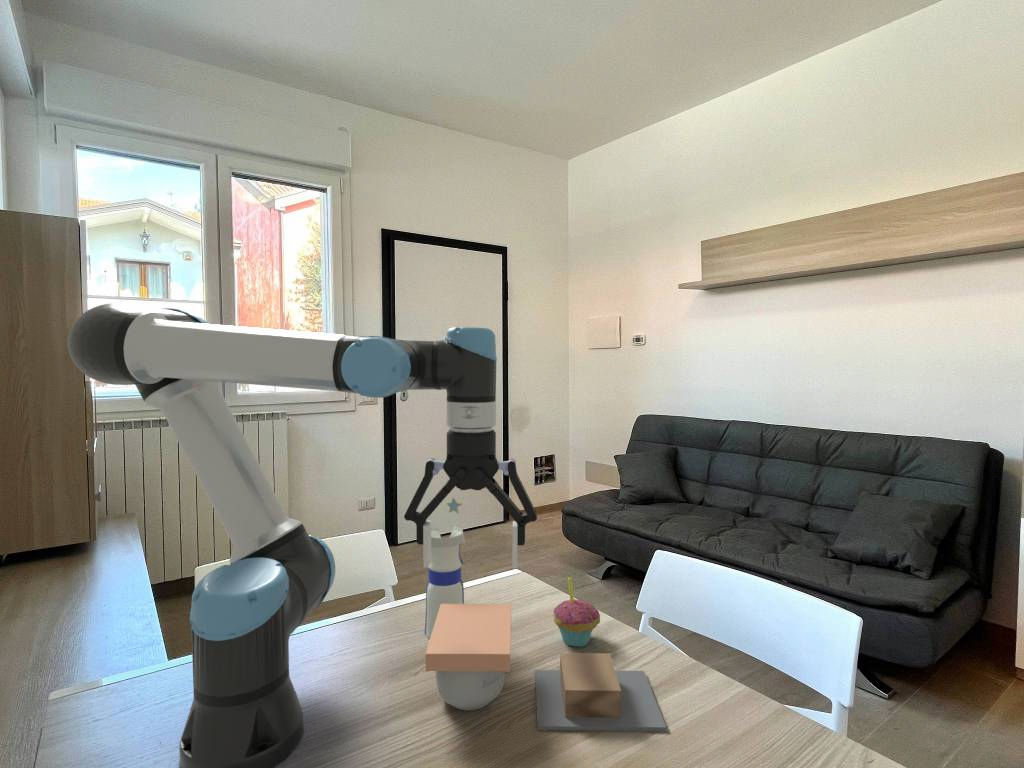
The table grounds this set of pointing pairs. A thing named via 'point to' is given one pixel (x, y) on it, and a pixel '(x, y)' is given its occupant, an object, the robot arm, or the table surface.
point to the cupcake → (576, 619)
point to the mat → (635, 716)
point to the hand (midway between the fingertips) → (471, 565)
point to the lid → (470, 638)
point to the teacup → (469, 687)
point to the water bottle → (444, 572)
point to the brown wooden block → (589, 685)
